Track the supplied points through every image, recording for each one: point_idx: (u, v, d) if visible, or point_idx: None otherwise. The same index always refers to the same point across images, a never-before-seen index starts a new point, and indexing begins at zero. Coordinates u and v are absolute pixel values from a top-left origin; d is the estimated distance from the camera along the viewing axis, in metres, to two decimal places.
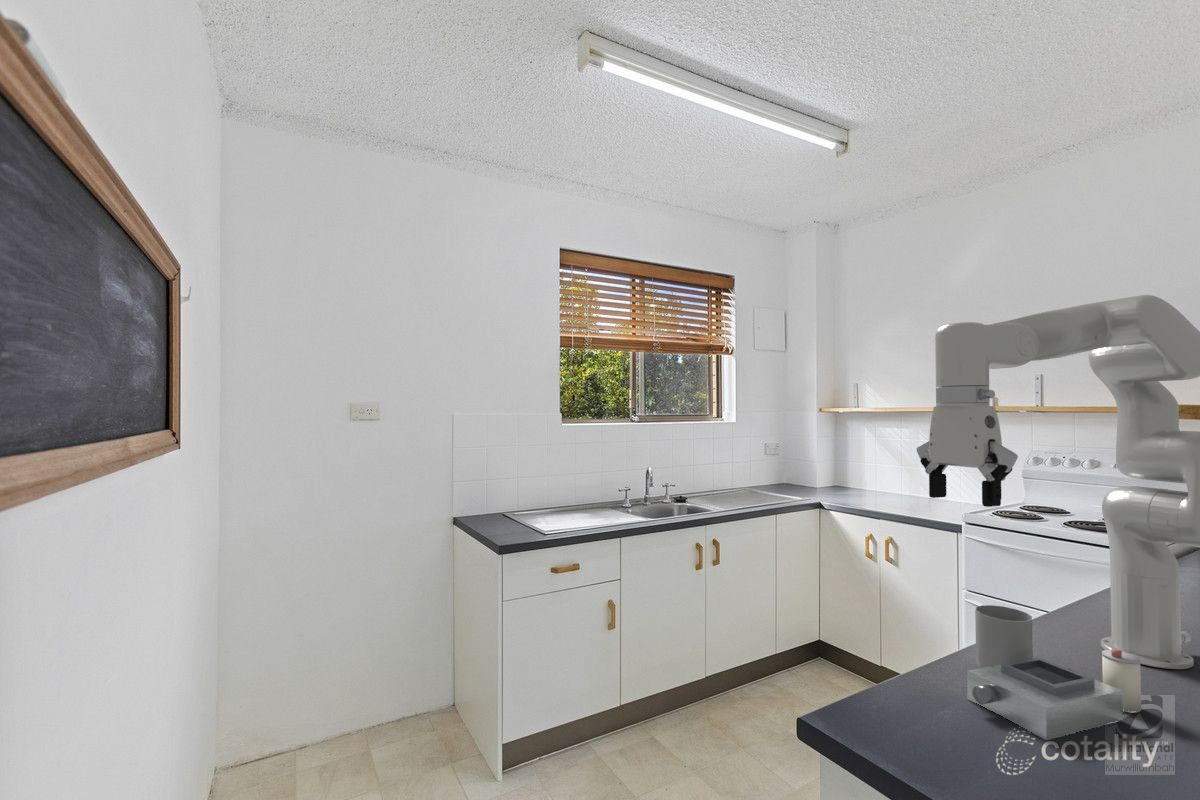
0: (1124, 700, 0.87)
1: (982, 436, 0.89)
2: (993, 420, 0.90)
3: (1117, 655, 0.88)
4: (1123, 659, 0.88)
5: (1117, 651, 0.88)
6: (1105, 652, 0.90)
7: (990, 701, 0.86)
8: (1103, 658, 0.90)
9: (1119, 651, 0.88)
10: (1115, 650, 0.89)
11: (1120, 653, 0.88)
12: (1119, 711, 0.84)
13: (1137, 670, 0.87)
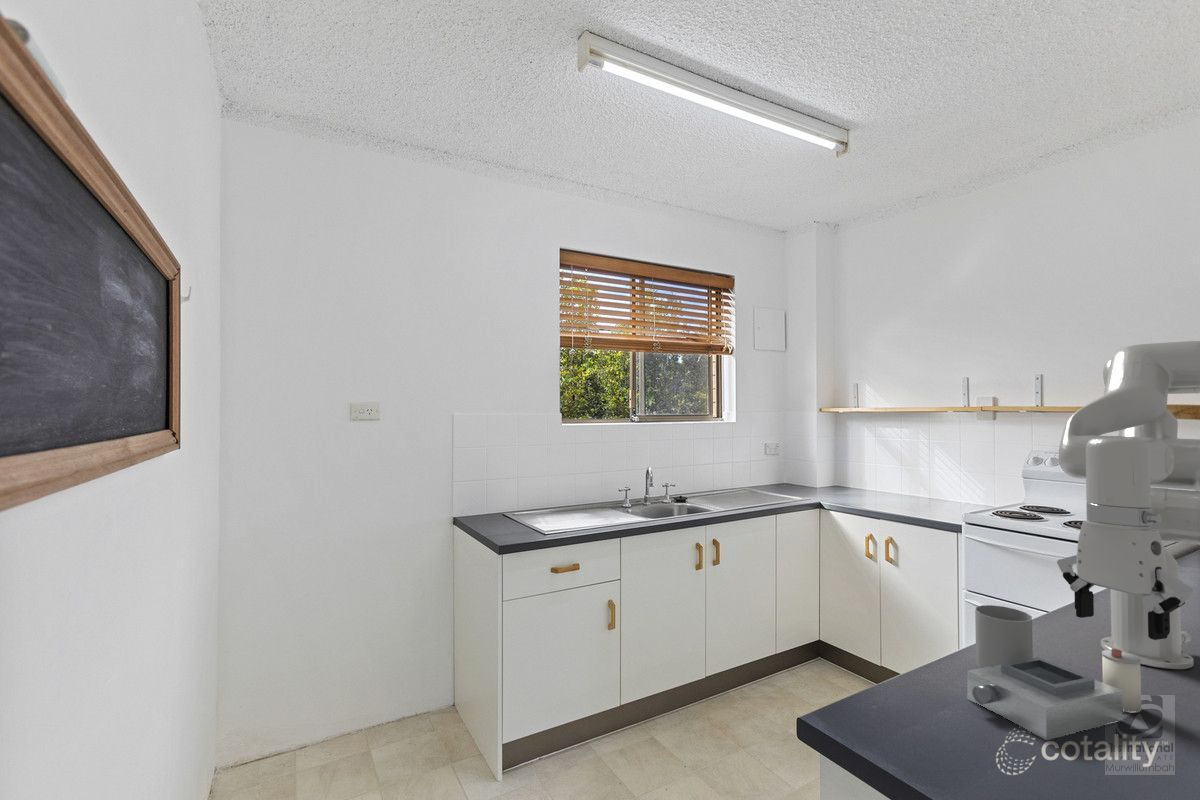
0: (1124, 700, 0.87)
1: (1149, 564, 0.84)
2: (1159, 546, 0.85)
3: (1117, 655, 0.88)
4: (1123, 659, 0.88)
5: (1117, 651, 0.88)
6: (1105, 652, 0.90)
7: (990, 701, 0.86)
8: (1103, 658, 0.90)
9: (1119, 651, 0.88)
10: (1115, 650, 0.89)
11: (1120, 653, 0.88)
12: (1119, 711, 0.84)
13: (1137, 670, 0.87)
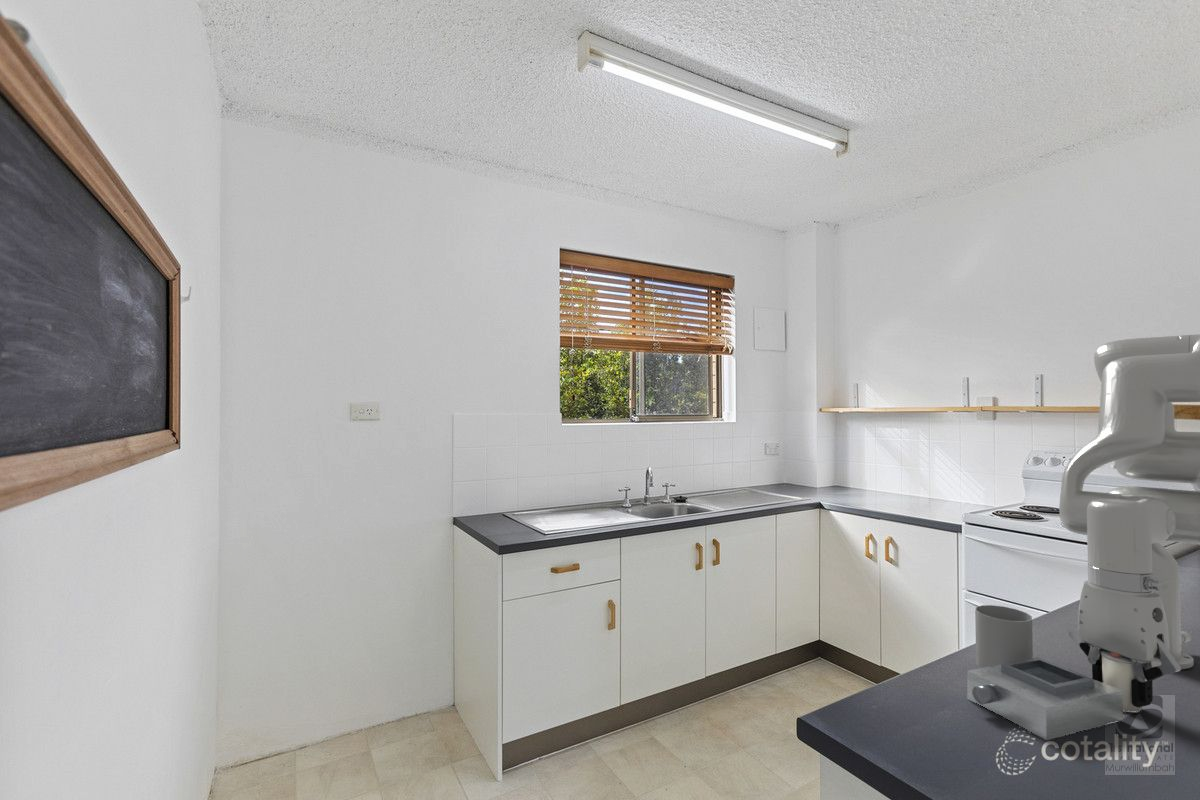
0: (1124, 700, 0.87)
1: (1150, 631, 0.84)
2: (1160, 612, 0.85)
3: (1117, 655, 0.88)
4: (1123, 659, 0.88)
5: None
6: (1104, 652, 0.90)
7: (990, 701, 0.86)
8: (1103, 658, 0.90)
9: None
10: None
11: None
12: (1119, 711, 0.84)
13: None
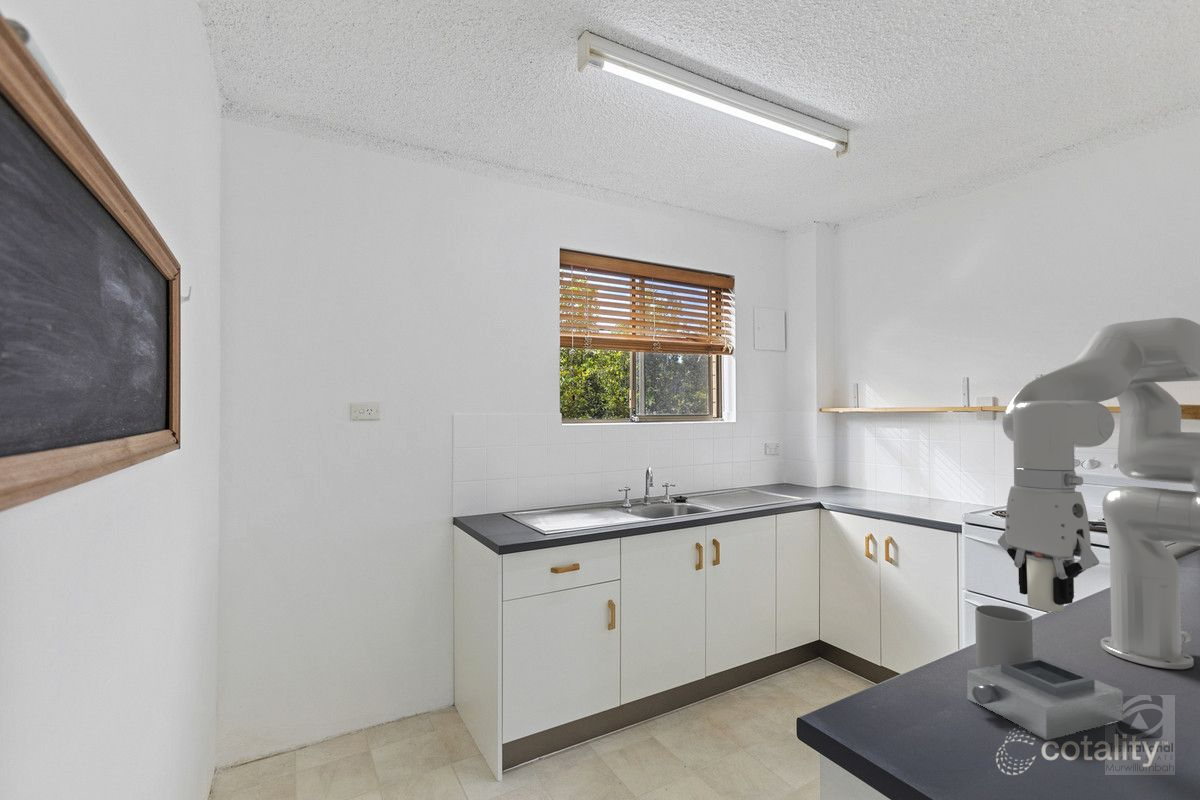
0: (1046, 599, 0.87)
1: (1070, 526, 0.84)
2: (1081, 508, 0.85)
3: (1040, 555, 0.88)
4: (1045, 558, 0.87)
5: None
6: (1029, 554, 0.90)
7: (990, 701, 0.86)
8: (1027, 560, 0.89)
9: None
10: None
11: None
12: (1119, 711, 0.84)
13: None
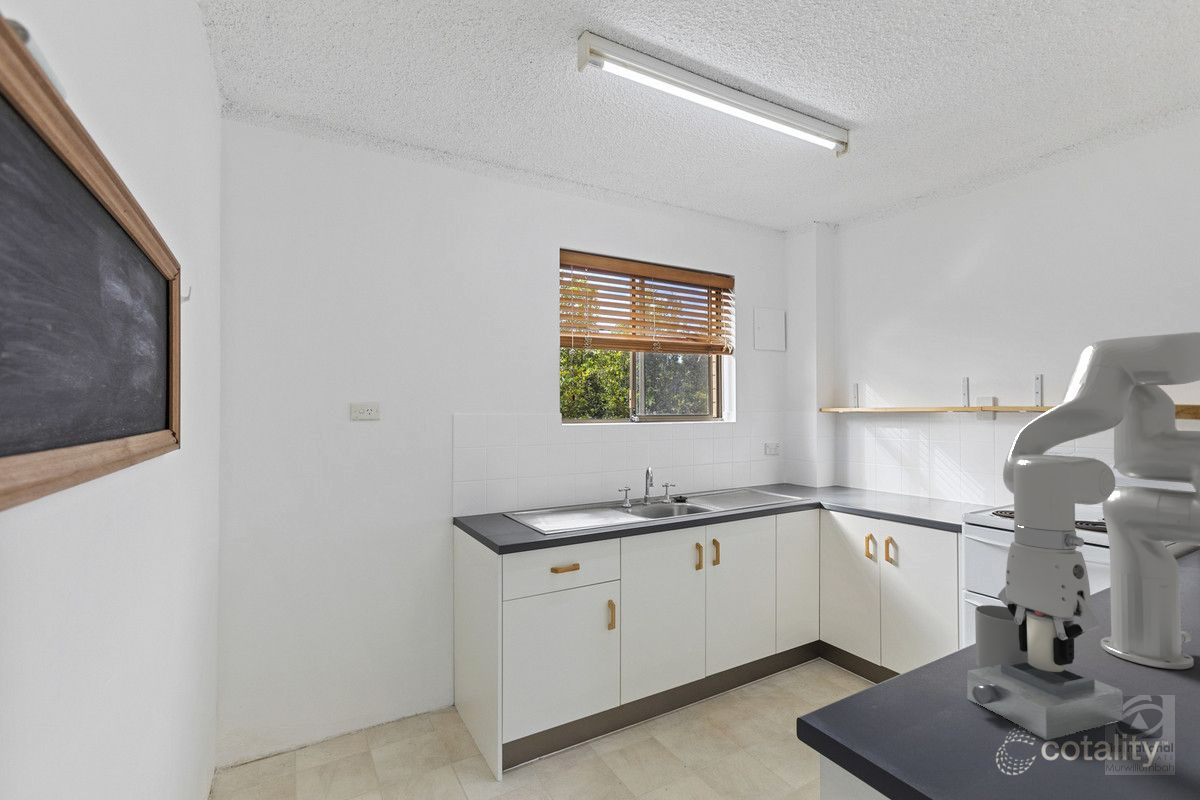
0: (1046, 659, 0.86)
1: (1070, 588, 0.83)
2: (1082, 569, 0.85)
3: (1040, 614, 0.88)
4: (1046, 618, 0.87)
5: None
6: (1029, 612, 0.90)
7: (990, 701, 0.86)
8: (1027, 618, 0.89)
9: None
10: None
11: None
12: (1119, 711, 0.84)
13: None
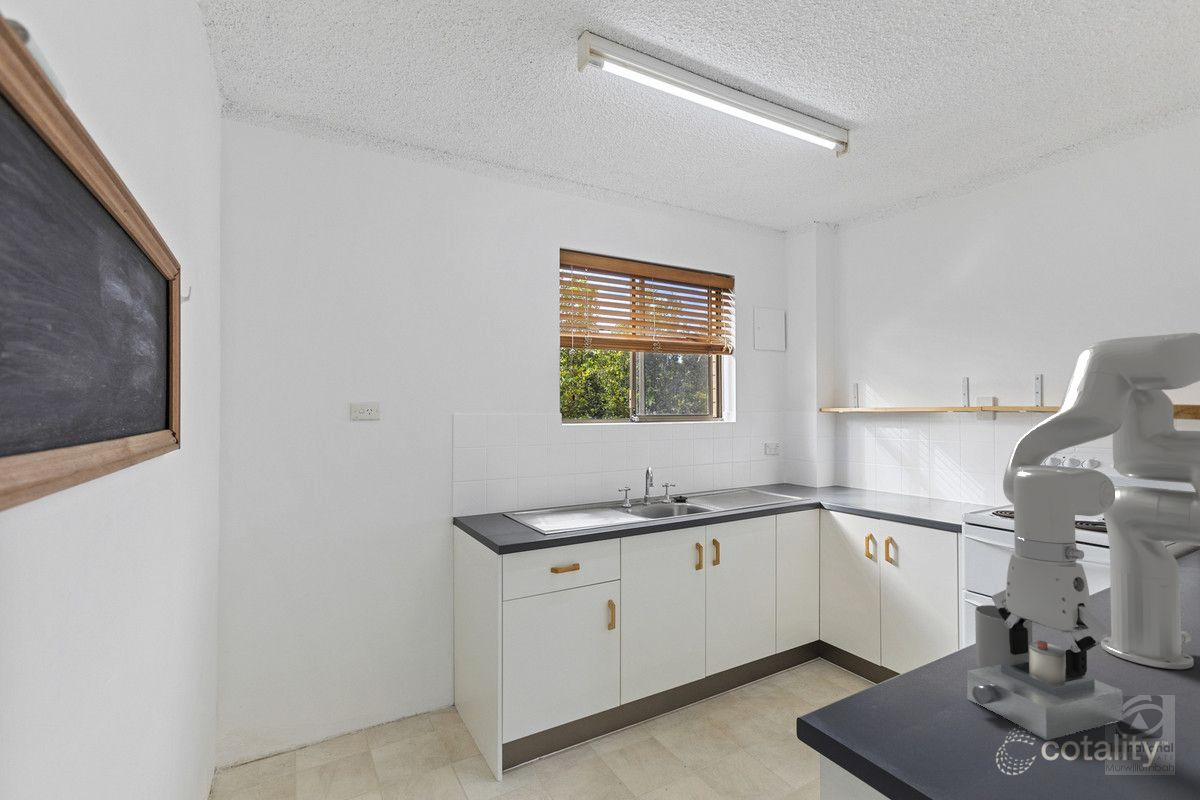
0: None
1: (1071, 600, 0.83)
2: (1082, 582, 0.85)
3: (1043, 647, 0.88)
4: (1048, 651, 0.87)
5: (1043, 643, 0.88)
6: (1032, 644, 0.90)
7: (990, 701, 0.86)
8: (1030, 650, 0.89)
9: (1045, 643, 0.88)
10: (1041, 642, 0.88)
11: (1046, 645, 0.87)
12: (1119, 711, 0.84)
13: (1061, 662, 0.86)
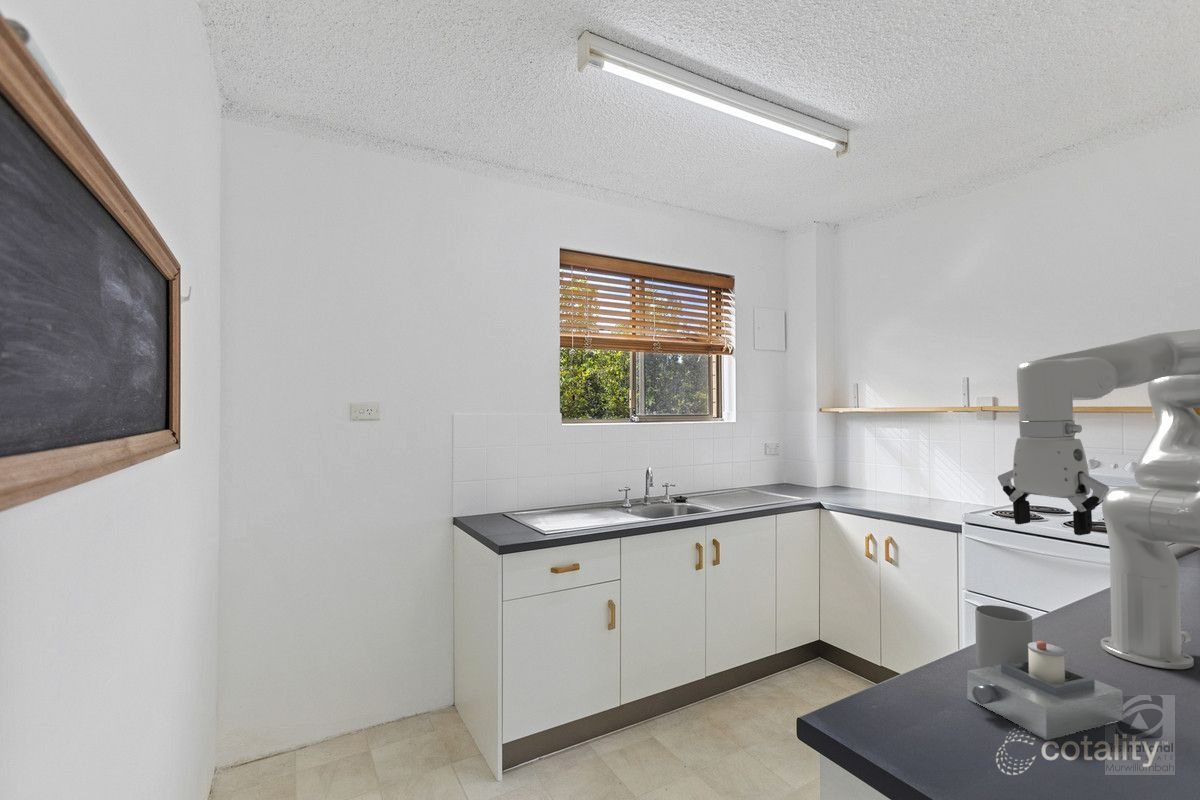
0: None
1: (1072, 469, 0.95)
2: (1081, 453, 0.96)
3: (1042, 647, 0.88)
4: (1047, 651, 0.87)
5: (1042, 643, 0.88)
6: (1031, 644, 0.90)
7: (990, 701, 0.86)
8: (1029, 650, 0.89)
9: (1044, 643, 0.88)
10: (1040, 642, 0.88)
11: (1045, 645, 0.87)
12: (1119, 711, 0.84)
13: (1060, 662, 0.86)
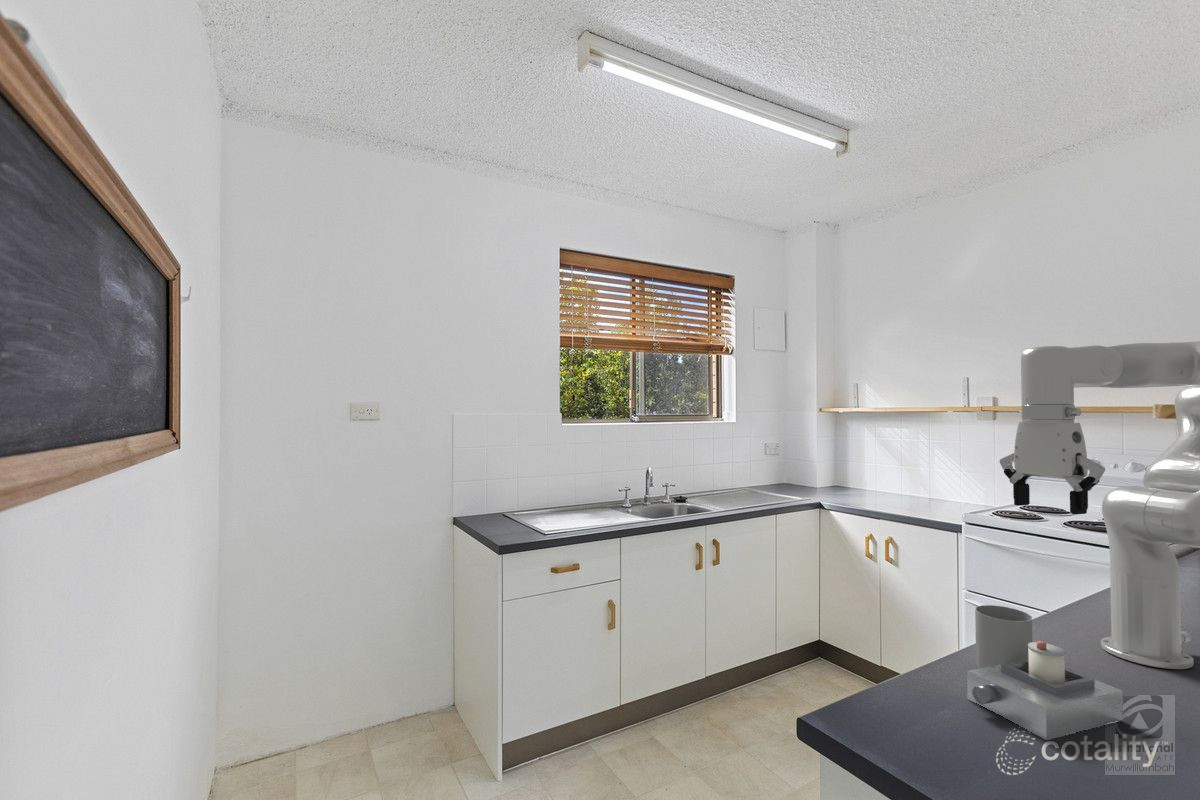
0: None
1: (1070, 450, 0.98)
2: (1079, 436, 0.99)
3: (1042, 647, 0.88)
4: (1047, 651, 0.87)
5: (1042, 643, 0.88)
6: (1031, 644, 0.90)
7: (990, 701, 0.86)
8: (1029, 650, 0.89)
9: (1044, 643, 0.88)
10: (1040, 642, 0.88)
11: (1045, 645, 0.87)
12: (1119, 711, 0.84)
13: (1060, 662, 0.86)
